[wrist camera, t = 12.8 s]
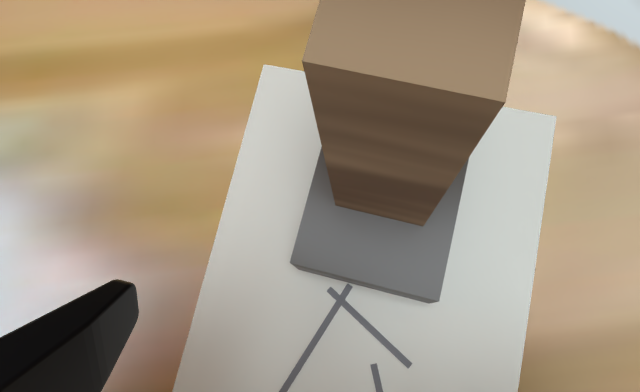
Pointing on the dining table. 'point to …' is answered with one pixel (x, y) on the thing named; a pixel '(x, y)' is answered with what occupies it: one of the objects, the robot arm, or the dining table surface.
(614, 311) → the dining table surface
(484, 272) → the primed board
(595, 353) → the dining table surface
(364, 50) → the brown post on stand
